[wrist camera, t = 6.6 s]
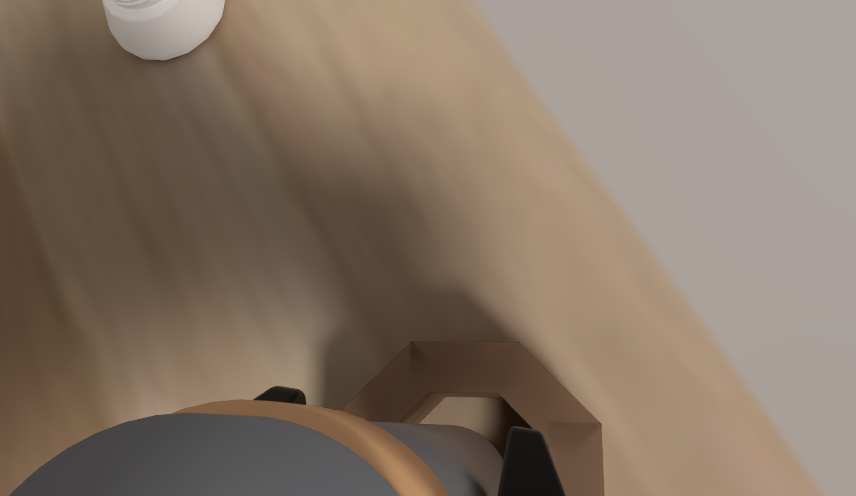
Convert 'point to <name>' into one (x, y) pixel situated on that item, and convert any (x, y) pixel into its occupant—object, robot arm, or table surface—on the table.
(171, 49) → the white jar
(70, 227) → the table surface
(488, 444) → the grey knob-topped cylinder
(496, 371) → the bead
